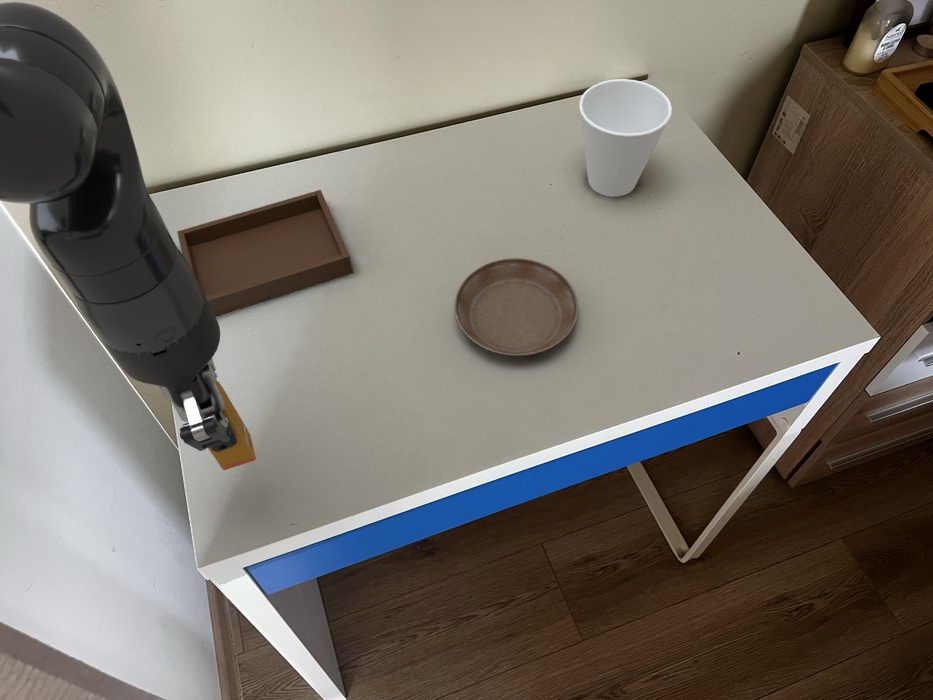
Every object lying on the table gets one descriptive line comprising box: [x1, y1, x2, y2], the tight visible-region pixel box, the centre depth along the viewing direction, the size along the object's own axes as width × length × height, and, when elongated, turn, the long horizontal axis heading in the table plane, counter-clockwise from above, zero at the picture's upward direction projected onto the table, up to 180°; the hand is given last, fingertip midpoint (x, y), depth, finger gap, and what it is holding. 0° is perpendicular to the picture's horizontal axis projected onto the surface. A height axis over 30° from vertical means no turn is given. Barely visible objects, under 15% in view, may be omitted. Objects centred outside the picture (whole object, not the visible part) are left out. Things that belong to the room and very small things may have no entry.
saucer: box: [454, 257, 579, 357], centre depth 85 cm, size 15×15×3 cm
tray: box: [176, 189, 354, 317], centre depth 92 cm, size 20×14×3 cm
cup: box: [578, 78, 673, 198], centre depth 95 cm, size 12×12×12 cm
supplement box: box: [205, 380, 257, 471], centre depth 64 cm, size 3×3×10 cm
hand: (220, 426), depth 63 cm, fingers closed on supplement box, 3 cm apart
